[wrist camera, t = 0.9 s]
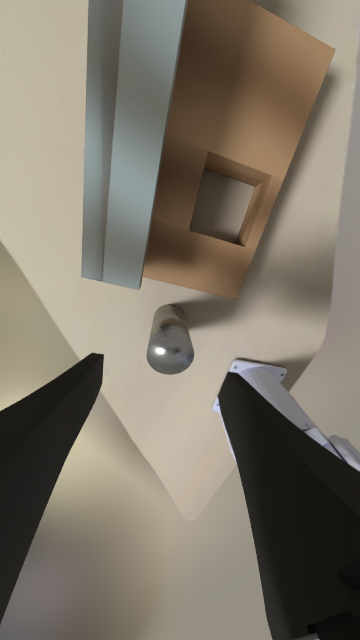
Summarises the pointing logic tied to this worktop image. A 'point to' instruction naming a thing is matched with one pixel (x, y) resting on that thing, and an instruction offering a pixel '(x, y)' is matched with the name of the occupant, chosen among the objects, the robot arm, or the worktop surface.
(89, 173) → the socket board
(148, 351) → the peg
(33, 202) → the worktop surface
